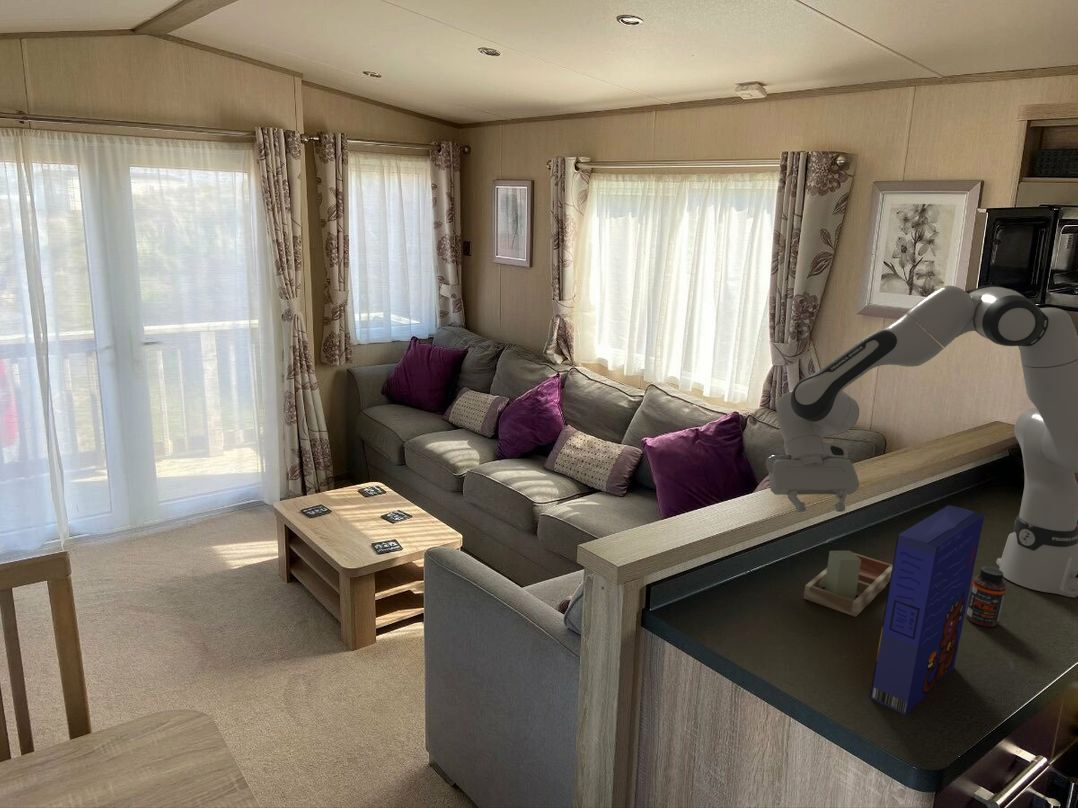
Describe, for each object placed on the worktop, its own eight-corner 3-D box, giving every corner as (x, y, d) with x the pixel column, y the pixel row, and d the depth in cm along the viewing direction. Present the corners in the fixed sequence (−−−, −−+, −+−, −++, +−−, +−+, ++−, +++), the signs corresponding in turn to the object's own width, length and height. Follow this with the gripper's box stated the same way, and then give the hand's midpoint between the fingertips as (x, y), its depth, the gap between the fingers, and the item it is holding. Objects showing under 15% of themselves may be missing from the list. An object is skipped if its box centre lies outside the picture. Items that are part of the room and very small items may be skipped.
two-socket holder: (845, 562, 189) (847, 550, 188) (894, 577, 182) (896, 565, 181) (803, 598, 170) (805, 585, 169) (855, 616, 163) (857, 603, 162)
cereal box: (920, 653, 150) (948, 503, 143) (954, 667, 146) (984, 514, 139) (869, 698, 136) (898, 533, 128) (905, 715, 131) (936, 545, 124)
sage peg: (823, 593, 172) (829, 550, 170) (843, 593, 173) (849, 550, 171) (833, 604, 168) (840, 560, 166) (854, 603, 169) (861, 559, 166)
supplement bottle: (966, 624, 163) (977, 572, 160) (963, 611, 168) (973, 561, 165) (1000, 631, 160) (1011, 579, 158) (995, 617, 166) (1006, 567, 163)
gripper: (769, 449, 181) (782, 505, 174) (853, 449, 184) (870, 505, 177) (759, 461, 187) (771, 516, 180) (841, 461, 190) (856, 516, 183)
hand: (821, 511), depth 178 cm, fingers open, 8 cm apart
